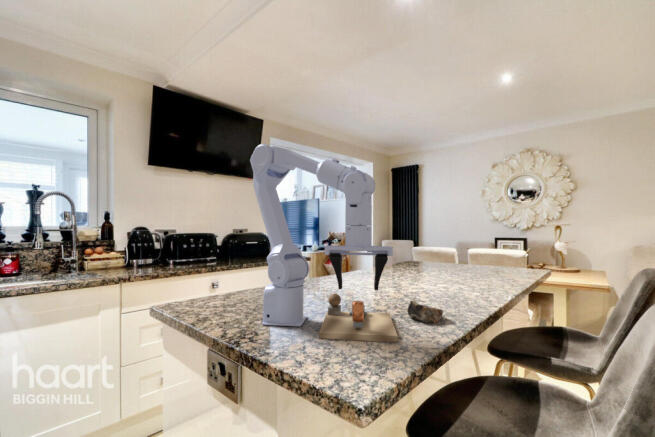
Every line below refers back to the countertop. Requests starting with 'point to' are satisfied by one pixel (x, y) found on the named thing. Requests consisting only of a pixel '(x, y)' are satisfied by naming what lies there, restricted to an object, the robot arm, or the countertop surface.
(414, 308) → the rock
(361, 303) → the lever
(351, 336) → the base
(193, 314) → the countertop surface
